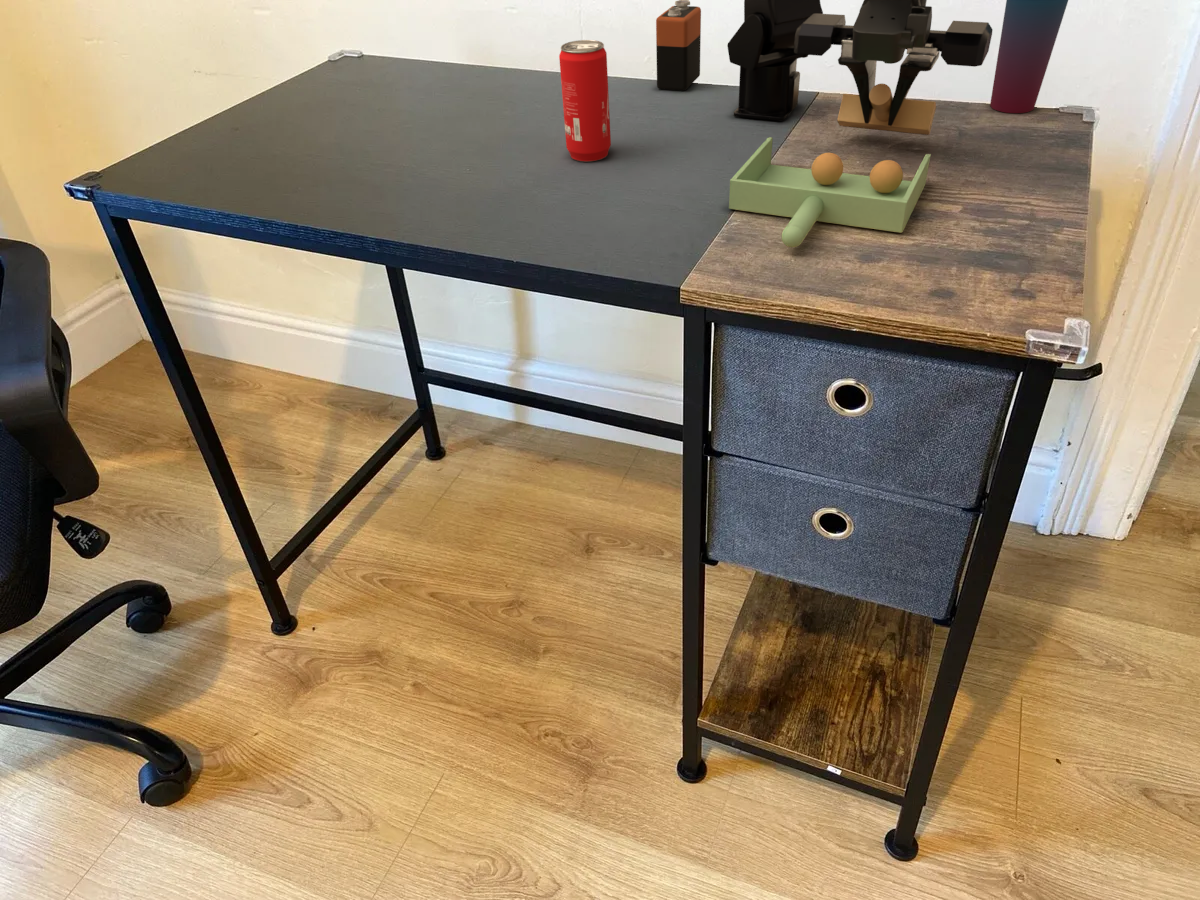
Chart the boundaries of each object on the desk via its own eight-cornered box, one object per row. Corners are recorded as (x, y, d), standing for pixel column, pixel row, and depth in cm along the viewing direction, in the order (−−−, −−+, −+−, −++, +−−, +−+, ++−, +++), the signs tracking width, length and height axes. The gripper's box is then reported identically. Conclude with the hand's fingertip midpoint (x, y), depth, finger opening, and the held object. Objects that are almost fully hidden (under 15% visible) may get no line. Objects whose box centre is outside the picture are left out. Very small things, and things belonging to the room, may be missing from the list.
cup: (1046, 116, 104) (1084, -25, 94) (986, 115, 105) (1016, -24, 96) (1036, 97, 109) (1071, -38, 100) (978, 97, 110) (1007, -37, 101)
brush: (840, 128, 102) (828, 104, 93) (846, 101, 101) (835, 75, 93) (929, 137, 98) (926, 113, 90) (936, 109, 97) (933, 83, 89)
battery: (700, 76, 123) (702, -2, 117) (686, 91, 119) (686, 11, 112) (671, 75, 125) (671, -3, 119) (655, 89, 120) (654, 10, 114)
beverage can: (568, 147, 105) (560, 40, 97) (611, 145, 104) (606, 38, 97) (565, 164, 101) (556, 53, 93) (610, 162, 100) (605, 51, 93)
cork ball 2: (865, 197, 90) (865, 173, 87) (875, 176, 91) (875, 151, 89) (897, 201, 88) (897, 176, 86) (906, 180, 90) (907, 154, 87)
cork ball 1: (807, 189, 92) (807, 162, 89) (816, 172, 94) (816, 145, 91) (837, 192, 91) (838, 165, 88) (846, 175, 92) (847, 147, 90)
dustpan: (766, 165, 97) (768, 136, 95) (925, 184, 91) (930, 154, 89) (700, 244, 83) (701, 212, 81) (882, 273, 77) (888, 239, 75)
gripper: (784, -24, 83) (773, 140, 93) (993, -17, 76) (957, 160, 86) (815, -48, 91) (802, 106, 101) (1008, -42, 84) (973, 122, 94)
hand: (878, 123), depth 95 cm, fingers closed on brush, 2 cm apart
